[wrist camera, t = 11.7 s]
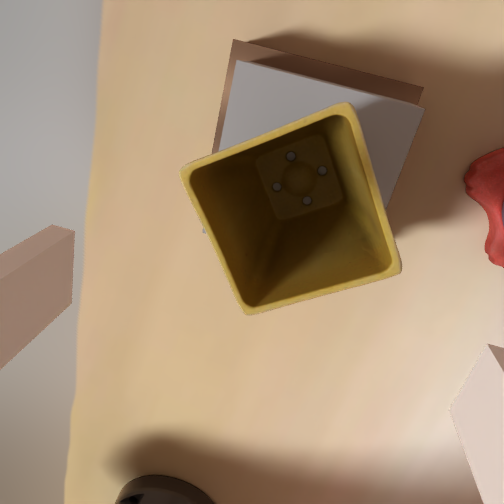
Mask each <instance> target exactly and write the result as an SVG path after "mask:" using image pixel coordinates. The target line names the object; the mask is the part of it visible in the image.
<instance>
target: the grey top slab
mask: <svg viewBox="0 0 504 504" xmlns="http://www.w3.org/2000/svg"><path fill="white" fill-rule="evenodd" d="M340 102H349V103H351V104H352V105H353V106H354V108H355V110H356V113H357V116H358V119H359V122H360V125H361V129H362V132H363V135H364V139H365V142H366V146H367V150H368V154H369V157H370V160H371V164H372V167H373V171H374V174H375V177H376V181H377V184H378V187H379V190H380V194H381V197H382V201H383V204H384V207H385V211H386V208H387V206H388V203H389V201H390V198H391V195H392V193H393V190H394V188H395V185H396V183H397V180H398V178H399V175H400V172H401V170H402V167H403V165H404V162H405V160H406V157H407V155H408V152H409V149H410V147H411V144H412V142H413V139H414V137H415V134H416V132H417V129H418V127H419V124H420V121H421V119H422V116H423V114H424V111H425V109H424V108H422V107H419V106H417V105H414V104H412V103H409V102H405V101H401V100H397V99H393V98H390V97H386V96H382V95H378V94H374V93H370V92H366V91H363V90H359V89H355V88H351V87H347V86H343V85H339V84H336V83H332V82H328V81H324V80H320V79H316V78H312V77H309V76H305V75H301V74H297V73H293V72H289V71H285V70H282V69H278V68H274V67H270V66H266V65H262V64H258V63H255V62H251V61H242V60H236V65H235V70H234V75H233V81H232V86H231V91H230V96H229V101H228V106H227V111H226V116H225V121H224V126H223V131H222V136H221V141H220V147H219V151H221V150H224V149H226V148H229V147H232V146H234V145H237V144H239V143H242V142H244V141H247V140H249V139H252V138H254V137H257V136H259V135H262V134H264V133H267V132H269V131H271V130H274V129H276V128H279V127H281V126H284V125H286V124H288V123H291V122H293V121H296V120H298V119H300V118H303V117H305V116H308V115H310V114H312V113H315V112H317V111H320V110H322V109H324V108H327V107H329V106H331V105H334V104H336V103H340ZM287 159H288V160H290V161H292V160H294V159H295V154H294V153H293V152H289V153H288V154H287ZM326 171H327V170H326V168H325V167H323V166H321V167H319V169H318V173H319V174H321V175H323V174H325V173H326ZM273 188H274V190H277V191H278V190H280V189H281V185H280V184H279V183H275V184H274V185H273ZM303 203H305V204H310V203H311V198H310V197H304V199H303ZM203 233H206V231H205V229H204V228H203ZM206 234H207V233H206Z"/></svg>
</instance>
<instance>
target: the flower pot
mask: <svg viewBox="0 0 504 504" xmlns="http://www.w3.org/2000/svg"><path fill="white" fill-rule="evenodd" d="M289 152H293V153H294V154H295V159H294V160H292V161H290V160H288V159H287V154H288V153H289ZM321 166H323V167H325V168H326V170H327V171H326V173H325V174H323V175H321V174H319V173H318V169H319V167H321ZM179 177H180V180H181V182H182V185H183V187H184V189H185V191H186V193H187V195H188V197H189V199H190V201H191V203H192V205H193V207H194V209H195V211H196V213H197V215H198V217H199V219H200V221H201V223H202V225H203V227H204V229H205V231H206V233H207V235H208V238H209V240H210V242H211V244H212V246H213V248H214V250H215V253H216V255H217V257H218V259H219V262H220V264H221V266H222V269H223V271H224V274H225V276H226V278H227V280H228V283H229V285H230V287H231V289H232V292H233V294H234V297H235V299H236V301H237V303H238V305H239V307H240V308H241V310H242V311H243V313H244V314H245V315H255V314H259V313H263V312H266V311H269V310H273V309H276V308H280V307H284V306H287V305H290V304H294V303H297V302H301V301H305V300H309V299H312V298H316V297H319V296H323V295H327V294H331V293H335V292H338V291H342V290H345V289H349V288H353V287H357V286H361V285H365V284H368V283H372V282H376V281H379V280H383V279H386V278H389V277H392V276H395V275H397V274H400V273H401V271H402V261H401V258H400V255H399V251H398V249H397V246H396V242H395V239H394V236H393V233H392V230H391V227H390V224H389V220H388V217H387V214H386V211H385V207H384V204H383V201H382V197H381V194H380V190H379V187H378V184H377V181H376V177H375V174H374V171H373V167H372V164H371V160H370V157H369V154H368V150H367V146H366V142H365V139H364V135H363V132H362V129H361V125H360V122H359V119H358V116H357V113H356V110H355V108H354V106H353V105H352V104H351V103H349V102H340V103H336V104H334V105H331V106H329V107H327V108H324V109H322V110H320V111H317V112H315V113H312V114H310V115H308V116H305V117H303V118H300V119H298V120H296V121H293V122H291V123H288V124H286V125H284V126H281V127H279V128H276V129H274V130H271V131H269V132H267V133H264V134H262V135H259V136H257V137H254V138H252V139H249V140H247V141H244V142H242V143H239V144H237V145H234V146H232V147H229V148H226V149H224V150H221V151H219V152H216V153H213V154H211V155H208V156H206V157H203V158H200V159H197V160H195V161H193V162H190V163H188V164H186V165H185V166H183V167H182V168H181V170H180V171H179ZM275 183H279V184H280V185H281V189H280V190H278V191H277V190H274V188H273V185H274V184H275ZM304 197H310V198H311V203H310V204H305V203H303V199H304Z"/></svg>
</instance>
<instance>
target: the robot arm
mask: <svg viewBox="0 0 504 504" xmlns="http://www.w3.org/2000/svg"><path fill="white" fill-rule="evenodd" d="M74 236H75V231H73V230H70V229H66V228H62V227H58V226H55V225H51V226H49V227H47V228H45V229H44V230H42V231H40V232H38V233H37V234H35V235H33V236H31V237H30V238H28V239H26V240H24V241H23V242H21V243H19V244H17V245H16V246H14V247H12V248H10V249H9V250H7V251H5V252H3V253H2V254H0V369H2V368H3V367H4V366H5V365H6V364H7V363H8V362H9V361H10V360H11V359H12V358H13V357H15V356H16V355H17V354H18V353H19V352H20V351H21V350H22V349H23V348H24V347H25V346H26V345H27V344H28V343H29V342H31V341H32V339H34V338H35V337H36V336H37V335H38V334H39V333H40V332H41V331H42V330H44V329H45V328H46V327H47V326H48V325H49V324H50V323H51V322H52V321H53V320H54V319H55V318H56V317H57V316H59V315H60V313H62V312H63V311H64V310H65V309H66V308H67V307H68V306H69V305H70V304H71V303H72V281H73V258H74ZM449 412H450V414H451V417H452V420H453V422H454V425H455V428H456V431H457V433H458V436H459V439H460V441H461V444H462V447H463V449H464V452H465V455H466V458H467V460H468V463H469V466H470V468H471V471H472V474H473V476H474V479H475V482H476V485H477V487H478V490H479V493H480V495H481V498H482V501H483V503H484V504H504V348H501V347H498V346H494V345H490V344H486V346H485V348H484V349H483V351H482V353H481V355H480V356H479V358H478V360H477V362H476V363H475V365H474V367H473V369H472V370H471V372H470V374H469V376H468V377H467V379H466V381H465V383H464V384H463V386H462V388H461V390H460V391H459V393H458V395H457V397H456V398H455V400H454V402H453V404H452V405H451V407H450V409H449ZM115 504H214V503H213V502H212V501H211V500H210V499H209V498H208V497H207V496H206V495H205V494H204V493H203V492H201V491H200V490H199V489H197V488H196V487H194V486H192V485H190V484H188V483H186V482H183V481H181V480H178V479H175V478H171V477H165V476H144V477H140V478H137V479H134V480H132V481H130V482H129V483H127V484H126V485H125V486H124V487H123V488H122V490H121V492H120V494H119V496H118V498H117V500H116V502H115Z"/></svg>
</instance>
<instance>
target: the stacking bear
mask: <svg viewBox="0 0 504 504" xmlns="http://www.w3.org/2000/svg"><path fill="white" fill-rule="evenodd" d="M464 182H465V183H466V193H467V194H468V195H469V196H470V197H471V198H472V199H474V200H475V201H477V202H478V203H479V204H480V205H481V206H482V207H483V208H484V210H485V211H486V213H487V216H488V219H489V233H488V236H487V239H486V242H485V252H486V253H487V254H488V255H489V260H490V261H491V262H492V263H493V264H495V265H499V266H502V267H503V268H504V148H501V149H499V150H496V151H493V152H491V153H488V154H486V155H484V156H482V157H480V158H479V159H477V160H475V161H474V162H473V163H472V164H471V166H470V170H469V171H468V172H467V173H466V175H465V177H464Z"/></svg>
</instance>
